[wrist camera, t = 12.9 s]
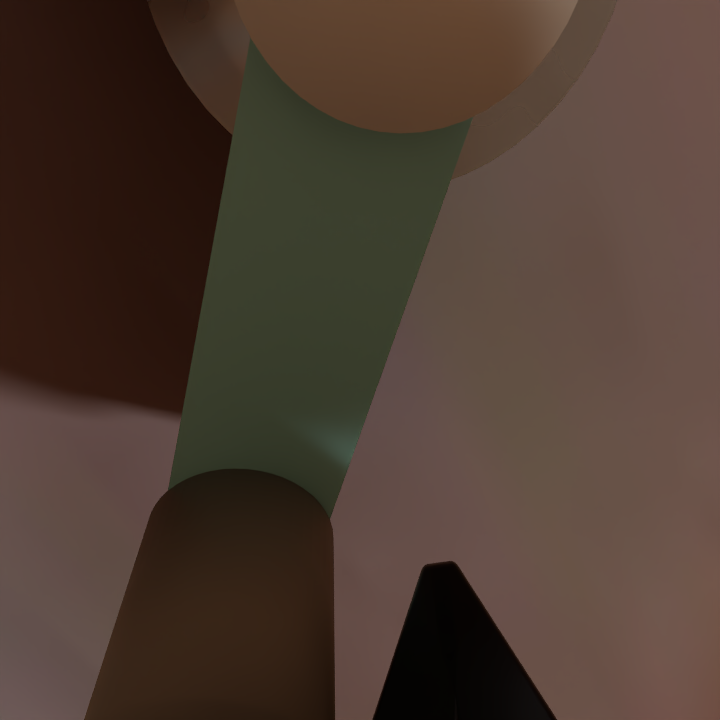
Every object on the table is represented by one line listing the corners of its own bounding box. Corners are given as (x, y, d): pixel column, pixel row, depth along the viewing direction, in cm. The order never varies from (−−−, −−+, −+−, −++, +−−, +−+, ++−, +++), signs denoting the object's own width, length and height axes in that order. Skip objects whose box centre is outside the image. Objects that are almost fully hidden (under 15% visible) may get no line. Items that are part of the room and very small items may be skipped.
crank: (283, -289, 7) (186, -816, 2) (571, -174, 7) (974, -401, 3) (150, 504, 12) (46, 825, 7) (321, 533, 13) (318, 848, 8)
